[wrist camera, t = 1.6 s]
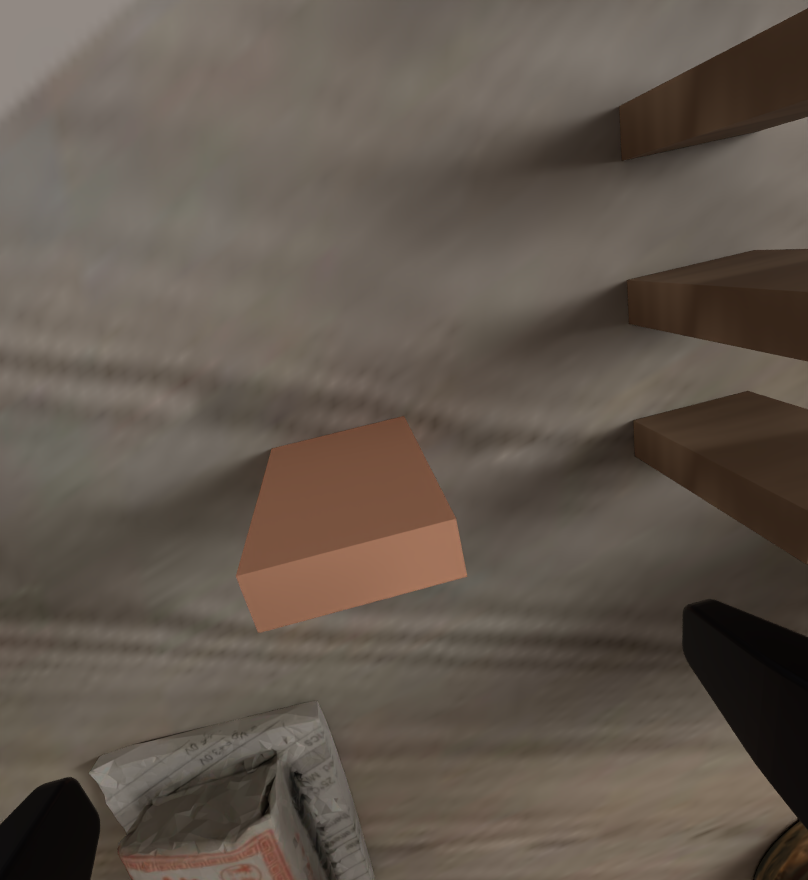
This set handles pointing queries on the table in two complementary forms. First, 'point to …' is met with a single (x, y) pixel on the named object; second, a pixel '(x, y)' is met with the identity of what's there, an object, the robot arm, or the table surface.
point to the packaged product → (237, 802)
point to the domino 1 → (346, 526)
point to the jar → (786, 857)
